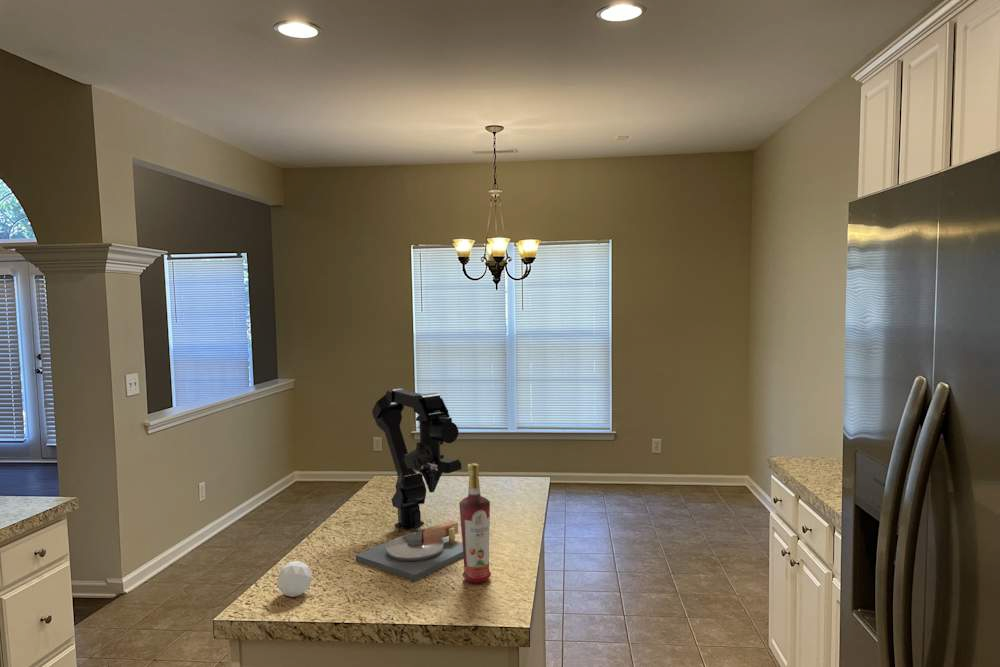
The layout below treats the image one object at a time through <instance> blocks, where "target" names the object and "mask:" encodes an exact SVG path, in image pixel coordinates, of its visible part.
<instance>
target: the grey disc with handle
mask: <svg viewBox="0 0 1000 667" xmlns="http://www.w3.org/2000/svg"><path fill="white" fill-rule="evenodd" d="M451 527H453V528H454V530H455V535H457V534H459V522H458V521H455V520H452V521H449V522H444V523H441V524H437V525H432V526H430V527H426V528H425V527H424V528H422V529H419V530H418V529H416V530H414V529H413V530H412V529H411V530H409V531H408V532H406V534H407V535H406V534H404V535H405V536H403V535H401V536H398V537H395V538H393V539H391V540H389V541H390V542H389V541H388V542H389V543H388V544H387V546H386V550H387V555H388V556H389V557H390V558H392V559H395V560H400V561H420V560H425V559H429V558H432V557H435V556H437V555H439V554H440V553H441V552H442V551H443V549H444V542H443V540H442V539H441V538H448V537H449V528H451Z"/></svg>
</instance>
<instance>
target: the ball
mask: <svg viewBox="0 0 1000 667" xmlns="http://www.w3.org/2000/svg"><path fill="white" fill-rule="evenodd" d="M312 579H313V574H312V571H311V568H309V566H308V565H307V564H306V563H304V562H302V561H300V560H299V561H298V560H297V561H296V560H295V561H289V562H287V564H285V565H284V566H282V567H281V568H280V570H279V572H278V575H277V578H276V582H277V583H276V585H277V588H278V589H279V591H280V592H281V593H282V594H283V595H285V596H288V597H292V598H294V597H300V596H302V595H303V594H304V593H305V592H307V590H309V589H310V585H311V583H312V582H311V581H312Z"/></svg>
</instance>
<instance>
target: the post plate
mask: <svg viewBox="0 0 1000 667" xmlns="http://www.w3.org/2000/svg"><path fill="white" fill-rule="evenodd" d="M405 535H407V533H406V534H403V535H402V536H405ZM455 536H456V534H455V530H454V528H453V527H451V528H449V536H448V538H447V537H444V538H441V539H442V540H443V542H444V549H443V551H442V552H441V553H440V554H439V555H437V556H435V557H432V558H429V559H425V560H420V561H400V560H395V559H392V558H390V557H389V556H388V555H387V550H386V546H387V544H388V543H389V542H390V541H391V540H389V541H386V542H384V543H382V544H379V545H376V546H374V547H372V548H369V549H367V550H364V551H362V552H360V553H357V554H355V561H356V562H359V563H361V564H363V565H367V566H370V567H373V568H375V569H378V570H381V571H385V572H387V573H390V574H393V575H396V576H399V577H403V578H405V579H407V580H410V581H413V582H416V581H418V580H419V579H421V578H424V577H427V576H428V575H430V574H432V573H434V572H437V571H438V570H440V569H443V568H444V567H447V566H448V565H450V564H453V563H454V562H456V561H458V560H460V559H462V558H463V559H464V557H463V543H462V542H459V541H456V539H455V538H456V537H455Z"/></svg>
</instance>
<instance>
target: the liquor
mask: <svg viewBox="0 0 1000 667" xmlns="http://www.w3.org/2000/svg"><path fill="white" fill-rule="evenodd" d="M467 473H468V479H469V480H468V493H467V496H465V497H464V498H462V499H461V501H459V518H460V519H459V521H460V531H461V541H462V542H461V543H463V573H462V578H463V579H465V580H466V582H469V583H470V584H473V585H475V584H476V585H480V584H483V583H486V581H487V580H488V579H489V578H490V577H491V576H492V572H491V571H490V527H491V526H490V520H491V519H490V517H491V516H490V515H491V512H490V511H491V509H490V508H491V506H490V505H491V502H490V500H489V499H488V498H486V497H485V496H482V495H481V489H480V488H481V487H480V479H479V476H480V475H479V474H480V464H479V463H474V462H473V463H468V464H467Z"/></svg>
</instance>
